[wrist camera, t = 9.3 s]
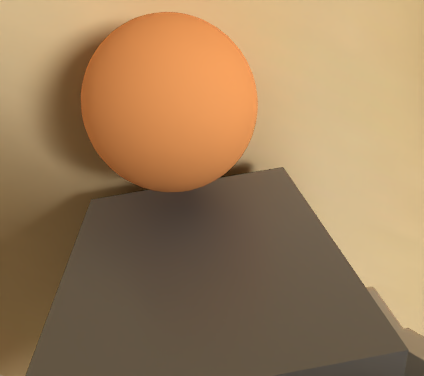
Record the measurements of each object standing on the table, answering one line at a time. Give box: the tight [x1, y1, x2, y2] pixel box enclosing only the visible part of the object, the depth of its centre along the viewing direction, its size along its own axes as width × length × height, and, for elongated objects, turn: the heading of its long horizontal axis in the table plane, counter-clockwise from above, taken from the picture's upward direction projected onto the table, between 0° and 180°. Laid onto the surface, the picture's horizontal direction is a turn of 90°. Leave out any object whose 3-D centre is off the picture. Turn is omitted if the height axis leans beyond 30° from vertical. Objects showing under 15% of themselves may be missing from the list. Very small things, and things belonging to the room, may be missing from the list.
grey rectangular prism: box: [26, 167, 409, 376], centre depth 11 cm, size 7×7×8 cm
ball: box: [81, 12, 258, 192], centre depth 11 cm, size 5×5×5 cm
